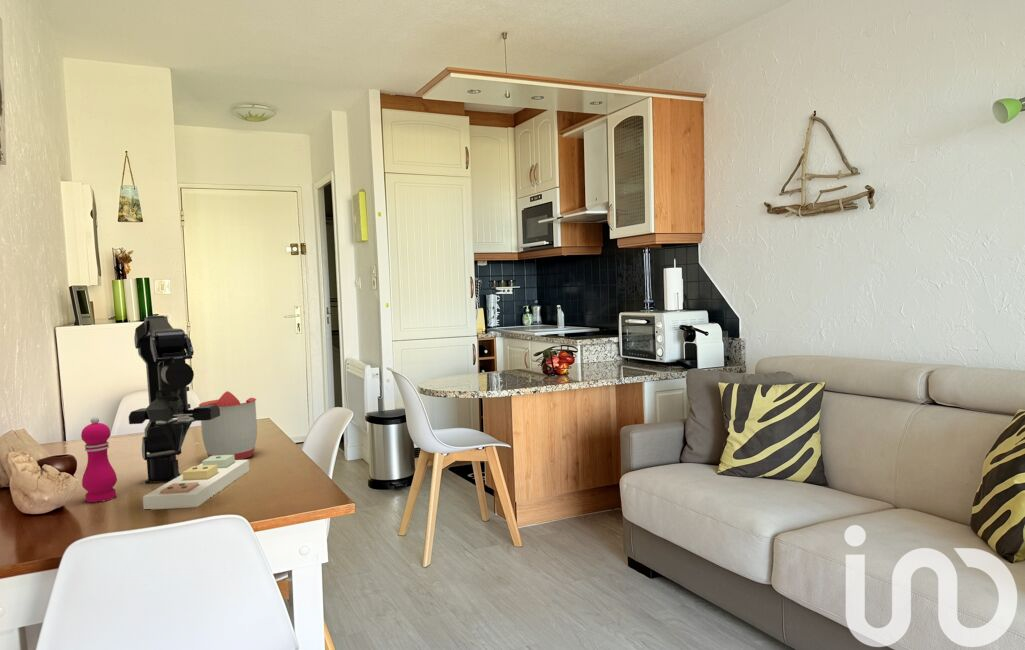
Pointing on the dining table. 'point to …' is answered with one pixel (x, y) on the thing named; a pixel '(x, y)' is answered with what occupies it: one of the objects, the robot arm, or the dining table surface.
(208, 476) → the tile
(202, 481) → the rail
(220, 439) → the citrus juicer
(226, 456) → the tile
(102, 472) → the pepper mill
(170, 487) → the three-pip tile
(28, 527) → the dining table surface
